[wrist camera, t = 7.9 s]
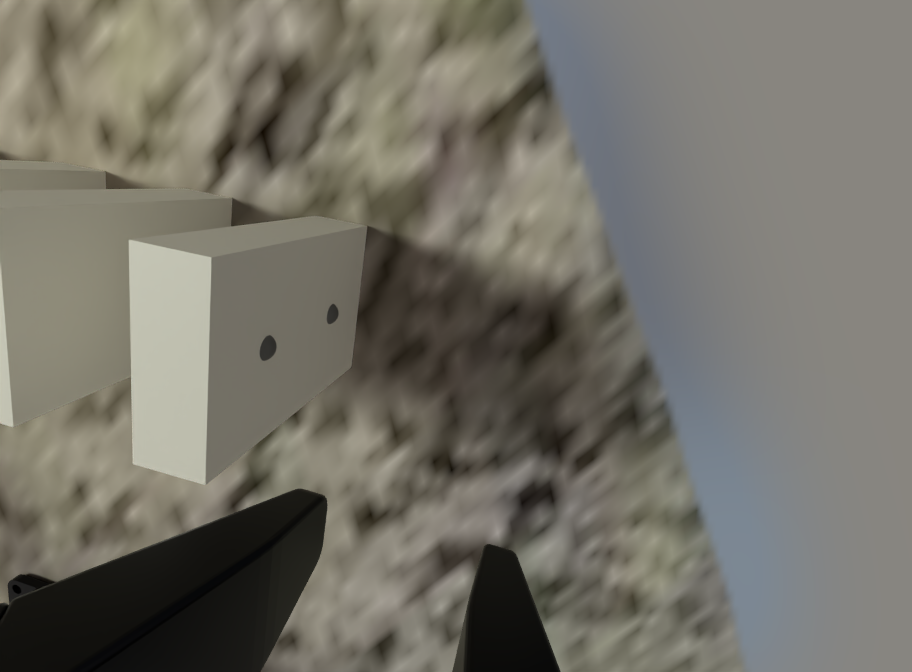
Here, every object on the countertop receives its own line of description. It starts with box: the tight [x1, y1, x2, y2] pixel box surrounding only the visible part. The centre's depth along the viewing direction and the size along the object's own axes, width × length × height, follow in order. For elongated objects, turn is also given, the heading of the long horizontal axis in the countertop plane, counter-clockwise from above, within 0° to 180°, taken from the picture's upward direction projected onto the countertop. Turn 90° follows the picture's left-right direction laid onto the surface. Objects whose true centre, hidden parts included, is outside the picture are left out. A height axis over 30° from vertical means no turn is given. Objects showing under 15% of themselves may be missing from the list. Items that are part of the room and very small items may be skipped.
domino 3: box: [129, 216, 367, 485], centre depth 15 cm, size 5×2×8 cm, turn 170°
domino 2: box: [0, 188, 232, 427], centre depth 16 cm, size 5×2×8 cm, turn 170°
